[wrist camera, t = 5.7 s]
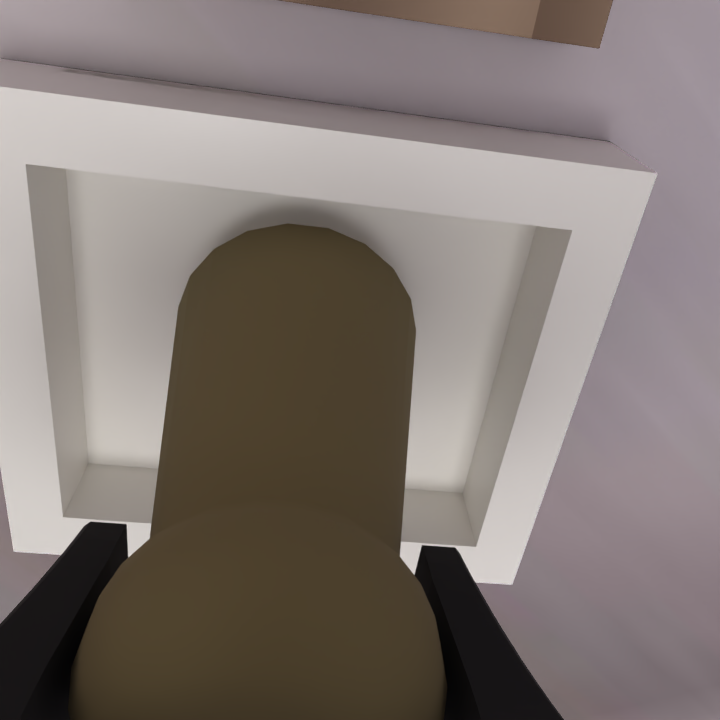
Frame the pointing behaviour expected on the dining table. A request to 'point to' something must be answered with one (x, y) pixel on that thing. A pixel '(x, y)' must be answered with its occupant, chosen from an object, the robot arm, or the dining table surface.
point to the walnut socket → (496, 16)
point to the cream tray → (302, 207)
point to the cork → (275, 505)
